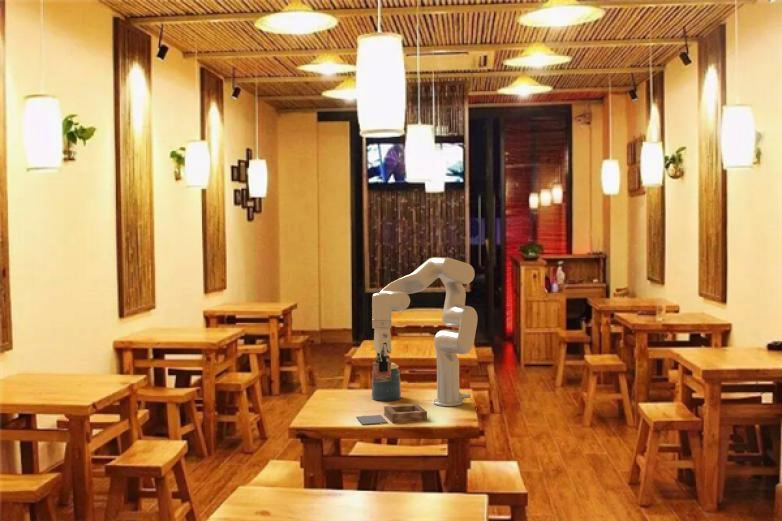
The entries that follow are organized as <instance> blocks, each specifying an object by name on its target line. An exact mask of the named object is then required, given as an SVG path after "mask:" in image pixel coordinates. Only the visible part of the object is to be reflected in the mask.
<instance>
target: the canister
mask: <svg viewBox="0 0 782 521" xmlns="http://www.w3.org/2000/svg"><path fill="white" fill-rule="evenodd" d="M388 361H390V359H388ZM391 363H392V364H391V378H392V380H391V381H385V382H373V376H372V378H371V398H372V400H373V401H380V402H391V401H398V400H400V399H401V393H402V392H401V391H402V390H401V380H402V379H401V377H400V374H401V370H399V367H400V366H399V365H398V364H396V363H395V362H391ZM371 374H372V375H373V370H372V371H371Z"/></svg>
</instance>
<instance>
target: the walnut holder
mask: <svg viewBox="0 0 782 521" xmlns="http://www.w3.org/2000/svg"><path fill="white" fill-rule="evenodd" d="M383 408H384V409H383V415H384V416H385V417H386V418H387V420H389V421H390V423H392V424H397V423H398V424H399V422H400V423H412V422H411V421H414V422H422V421H421V420H427V421H428V411H427V410H425V408H423V407H422V406H421V405H419V403H414V404H413V403H412V404H411V403H410V404H399V405H387V406H383Z"/></svg>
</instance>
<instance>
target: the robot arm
mask: <svg viewBox="0 0 782 521" xmlns="http://www.w3.org/2000/svg"><path fill="white" fill-rule="evenodd" d="M475 272H476V271H475V269H474V267H473V266H472V265H471V264H470V263H467V262H464V261H460V260H457V259H454V258H451V257H436V256H434V257H429V258H428V259H427V260H426V261H425V262H423V263H422V264H421V265H420V266H418V267H416V269H415V270H414V271H413V272H411V273H410V274H407V275H405V276H403V277H400V278H397V279H396V280H393V281H391V282H390V283H388V284H387V285H386V286H385V287H383V288H382V289H381V290H380V292H375V293H373V294H372V296H371V298H372V300H371V301H372V302H371V308H372V310H371V312H372V313H371V314H372V316H371V318H372V320H371V325H372V326H371V327H372V328H371V329H374V330H373V332H374V333H373V347H374V348H373V349H374V351H375V352H376V357H379V356H380V361H379V371H380V372H387V371H388V360H389V359H387V356H388V355H389V354H392V335H391V329H392V311H404V310H406V309H407V308H409V306H410V303H411V298H410V296H409V295H410V294H415V293H420V292H422V291H424V290H426V289H427V288H428V287H430V285H431V284H433V283H434V282H435V281H436V280H437V279H440V281H441V282H442V284H443V287H444V288H445V299H444V304H443V311H442V317H441V320H442V323H443V325H445V326H446V327H451V328H457V329H458V330H453V329H441V330H439V331H437V332H436V334H435V335H434V339H433V340H434V341H433V343H434V349H435V355H436V398H434V400H433V404H434V405H435V406H439V407H457V406H462V405H463V404H464V399H470V398H471V394H470V393H462V392H461V391H460V359H459V357H458V354H459V355H467V354H469V353H470V352H471V351H472V349H473V346H474V343H475V338H476V332H477V331H476V330H477V326H478V319H479V318H478V313H477V311H476V310H475V308H474V307H473V306H470V305H466V297H467V294H466V289H465V287H464V285H467V284H470V283H471V282H473V280H474V278H475V275H476V274H475Z"/></svg>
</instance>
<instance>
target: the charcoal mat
mask: <svg viewBox="0 0 782 521" xmlns="http://www.w3.org/2000/svg"><path fill="white" fill-rule="evenodd" d="M356 418H357V419H358V420H357V421H358V422H359V423H360V424H361V425H362V426H365V425H364V424H373V425H381V424H380V423H387V424H388V421H387V420H386V419H385V418H384V417H383V415H381V414H375V415H373V414H372V415H362V416H360V415H359V416H356V417H355V419H356Z"/></svg>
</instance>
